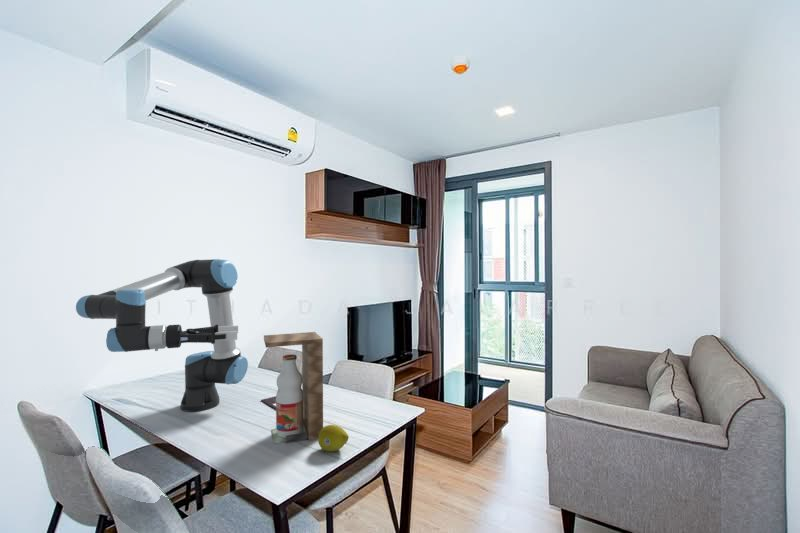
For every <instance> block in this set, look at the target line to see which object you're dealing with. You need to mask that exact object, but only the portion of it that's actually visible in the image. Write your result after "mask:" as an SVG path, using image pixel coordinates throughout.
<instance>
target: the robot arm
mask: <svg viewBox="0 0 800 533" xmlns="http://www.w3.org/2000/svg"><path fill="white" fill-rule="evenodd" d="M237 281H238V272H237V268H236V266H235V264H234V263H232V262H231V261H229V260H227V259H220V258H215V259H193V260H188V261H186V262H183V263H179V264H177V265H174V266H169V268H167V269H166V270H164V272H160V273H159V274H155V275H152V276H149V277H147V278H143V279H141V280H137V281H135V282H132V283H130V284H126V285H123V286H121V287H117V288H115V289H111V290H108V291H106V292H105V291H104V292H103V293H100V294H88V295H84V296H81V297H80V298H79V299H78V300H77V301H76V304H75V311H76V313H77V315H79V316H80V317H82V318H84V319H91V320H96V319H97V320H98V319H99V320H103V319H105V320H106V319H107V320H115V327H112V328H110V329H109V330H107V333H106V340H105V341H106V343H105V344H106V347H107V350H108V351H109V352H113V353H115V352H116V353H119V352H123V353H124V352H125V353H128V352H137V351H149V350H154V351H155V352H158V351H159V350H161V349H166V348H167V349H178V348H181V345H182V344H184V343H185V344H187V343H192V344H193V343H195V344H197V343H202V344H203V343H206V344H207V343H208V344H211V345H213V350H208V351H207V350H206V351H201V352H197V353H191V354H189V355H188V356H186V358H185V361H184V362H185V363H184V373H185V374H184V377H185V378H184V379H185V380H184V381H185V384H184V387H185V389H184V392H183V396H182V399H181V402H180V410H181V411H184V412H200V411H205V410H209V409H213V408H214V407H217V406H218V405H219V404H220V394H219V393H218V390H217V387H216V384H222V385H223V384H224V385H225V384H226V385H236V384H239V383H240V382H241V381H243V379H244V378H245V376H246V374H247V372H248V368H249V362H248V359H247V358H246V357H245V356H243V355H242V352H241V349H240V348H239V347H237V346H236V340H238V333H239V325H234V320H233V313H232V304H231V296H230V295H231V293H232V292H233V290H234V288H233V287H234V286H236V284H237ZM187 288H201V292H202V293H201V294H202V295H203V296H205V297H206V300H207V308H208V315H209V323H210V326H205V327H198V328H197V327H196V328H187V329H186V330H182V329H183V328H182V326H181V324H169V325H165V324H163V325H150V326H149V325H148V326H146V305H147V304H146V303H147V301H148V300H151V299H153V298H156V297H158V296H161V295H163V294H167V293H168V292H171V291H173V290H174V291H180V290H182V289H187Z"/></svg>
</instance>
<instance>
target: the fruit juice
mask: <svg viewBox="0 0 800 533" xmlns="http://www.w3.org/2000/svg"><path fill="white" fill-rule="evenodd" d="M297 357H298V356H297V355H296V354H285V355H282V362H283V365H282V367H281V370H280V373H279V374H278V376H277V378H276V386H277V391H276V395H275V396H276V410H275V416H276V417H275V420H276V421H275V422H276V423H275V425H276V428H275V429H276V433H277V435H278V436H279V437H282V438H286V436H288V435H294V434H299V433H302V431H303V391H302V381H303V379H302V373H301V372H300V370H299V369H298V365H297V363H296V362H297Z"/></svg>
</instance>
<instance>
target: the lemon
mask: <svg viewBox="0 0 800 533" xmlns="http://www.w3.org/2000/svg"><path fill="white" fill-rule="evenodd" d="M348 441H349V434H348V433H347V432H346V431H345V429H344V428H342V427H341V426H338V425H335V424H328V425H325V426H323V428H322V429H321V431H320V433H319V436H318V439H317V442H318V445H319V447H320V448H321V449H322V450H324V451H325V452H329V453H331V452H332V453H333V452H337V451H339V450H340V449H342V448H343V447H344V446H345V445H346V444H347V443H348Z"/></svg>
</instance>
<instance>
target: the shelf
mask: <svg viewBox="0 0 800 533" xmlns="http://www.w3.org/2000/svg"><path fill="white" fill-rule="evenodd" d="M263 340H264V345H265V348H279V347H290V346H300V345H301V356H302V357H301V358H302V359H301V363H302V364H301V367H302V368H301V371H302V373H301V375H302V379H303V381H302V385H301V388H302V391H303V431H302V433H299V434H294V435H288V436H286V438H282V437H279V436H278V435H277V433H276V428H272V429H271V434H272V439H273V440H272V441H273V444H281V443H285V444H288V443H293V442H295V443H296V442H300V441H301V442H302V441H305V440H308V441H312V440H318V436H319V433H320V431H321V429H322V428H323V427H324V368H323V367H324V366H323V365H324V361H323V360H324V357H323V356H324V349H323V348H324V346H323V343H324V341H323V337H321V335H320V334H318V333H317V332H316V331H312V332H311V331H309V332H308V331H307V332H306V331H305V332H296V333H295V332H293V333H280V334H266V335H263Z"/></svg>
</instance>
